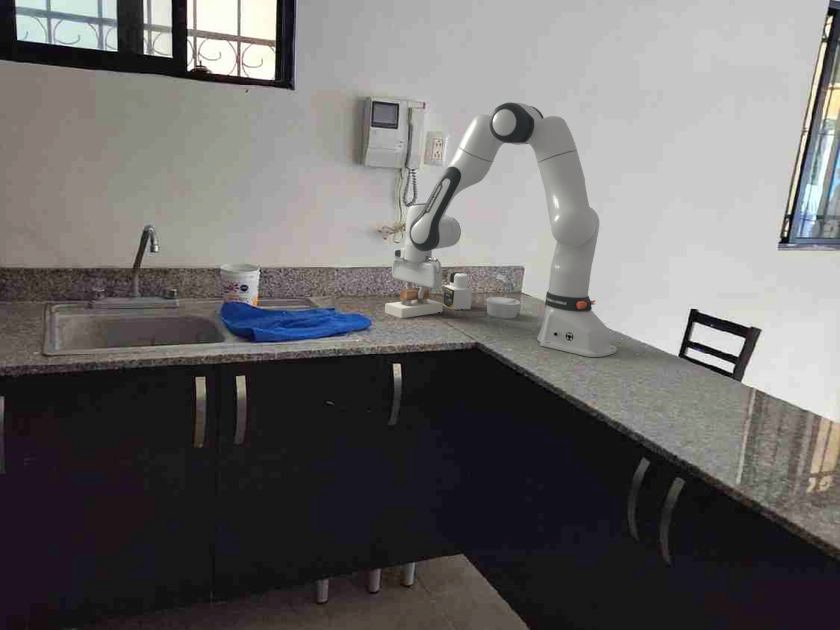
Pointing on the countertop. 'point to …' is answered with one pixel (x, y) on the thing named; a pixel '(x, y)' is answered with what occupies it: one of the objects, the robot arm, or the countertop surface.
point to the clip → (413, 296)
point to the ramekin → (502, 307)
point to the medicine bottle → (457, 292)
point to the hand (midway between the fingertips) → (414, 296)
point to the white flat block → (413, 308)
